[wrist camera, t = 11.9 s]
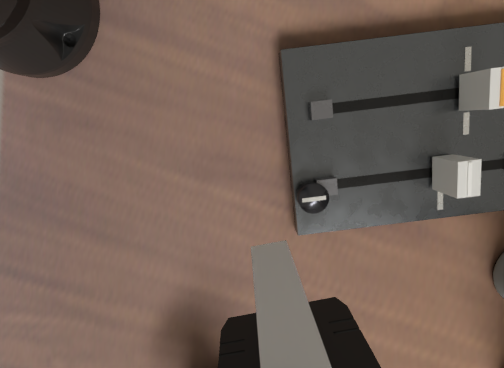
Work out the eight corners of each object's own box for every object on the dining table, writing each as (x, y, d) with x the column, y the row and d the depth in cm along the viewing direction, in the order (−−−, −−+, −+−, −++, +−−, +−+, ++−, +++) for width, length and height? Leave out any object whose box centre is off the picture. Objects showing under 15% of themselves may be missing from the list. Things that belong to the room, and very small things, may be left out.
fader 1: (432, 156, 37) (458, 162, 32) (453, 154, 37) (482, 159, 32) (432, 189, 37) (457, 198, 33) (452, 186, 37) (481, 196, 33)
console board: (278, 53, 36) (282, 45, 32) (532, 22, 36) (566, 11, 32) (295, 229, 41) (300, 241, 37) (520, 202, 41) (548, 210, 37)
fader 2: (459, 74, 35) (491, 68, 30) (481, 72, 35) (516, 65, 30) (458, 110, 36) (489, 109, 31) (480, 108, 36) (514, 106, 31)
